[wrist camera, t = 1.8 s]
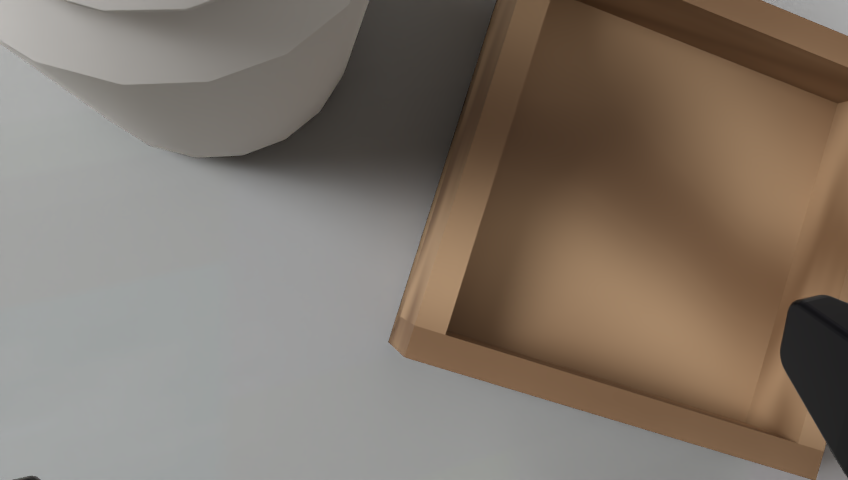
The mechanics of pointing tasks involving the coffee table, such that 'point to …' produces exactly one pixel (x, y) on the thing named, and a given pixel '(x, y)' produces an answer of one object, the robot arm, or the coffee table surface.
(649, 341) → the tray
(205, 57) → the can
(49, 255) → the coffee table surface
